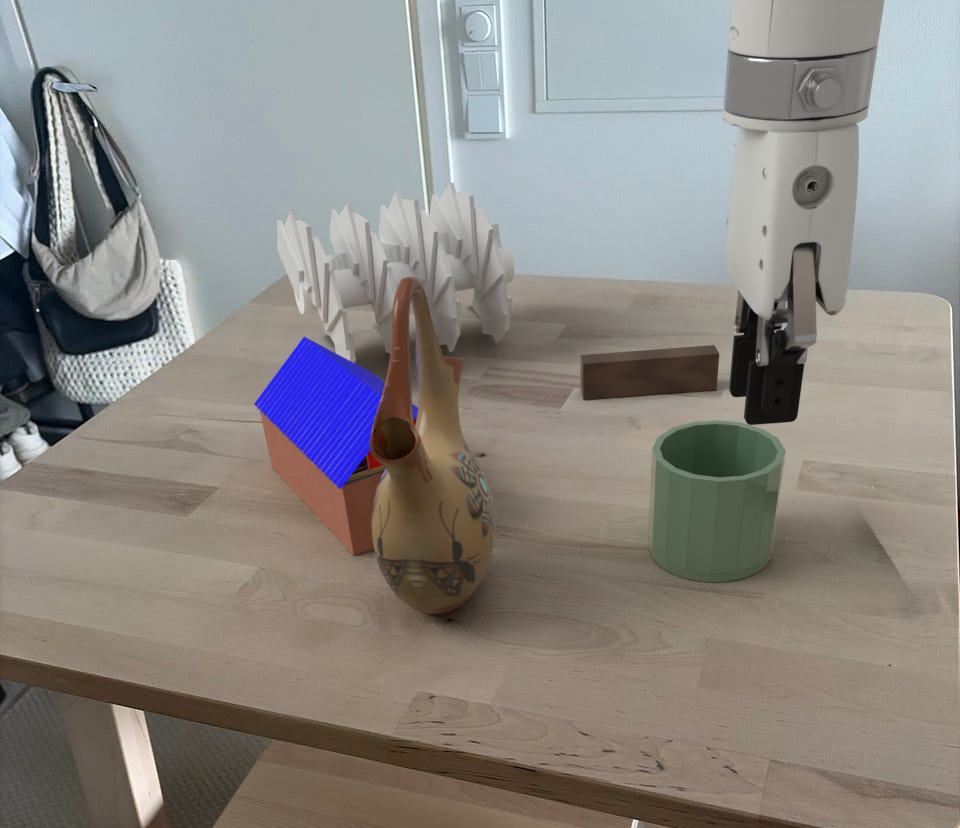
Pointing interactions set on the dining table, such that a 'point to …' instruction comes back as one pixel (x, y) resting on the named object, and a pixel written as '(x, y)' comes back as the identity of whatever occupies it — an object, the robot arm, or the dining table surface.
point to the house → (326, 438)
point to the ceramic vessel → (427, 473)
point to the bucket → (714, 499)
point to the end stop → (649, 372)
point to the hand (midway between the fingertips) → (762, 404)
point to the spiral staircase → (401, 266)
